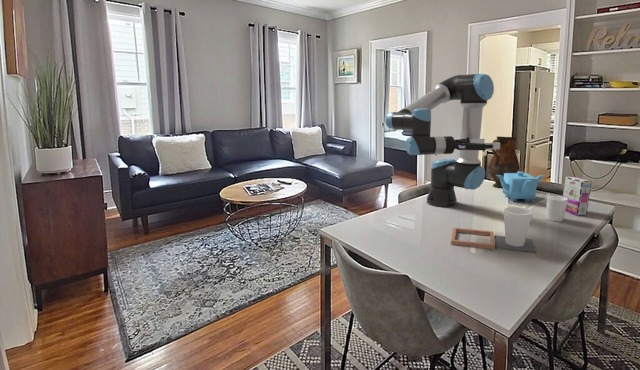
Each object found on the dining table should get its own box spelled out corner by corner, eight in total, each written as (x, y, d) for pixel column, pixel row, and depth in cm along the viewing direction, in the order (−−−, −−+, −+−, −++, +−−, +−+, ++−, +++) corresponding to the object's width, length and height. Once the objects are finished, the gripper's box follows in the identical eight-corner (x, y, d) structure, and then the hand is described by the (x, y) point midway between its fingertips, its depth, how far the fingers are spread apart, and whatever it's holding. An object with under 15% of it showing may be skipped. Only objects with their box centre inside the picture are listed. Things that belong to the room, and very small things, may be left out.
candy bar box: (587, 215, 177) (592, 181, 173) (577, 216, 177) (582, 181, 173) (570, 208, 188) (574, 175, 184) (560, 209, 188) (564, 176, 184)
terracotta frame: (450, 244, 149) (451, 240, 148) (453, 230, 162) (453, 227, 162) (494, 249, 143) (494, 245, 143) (493, 235, 157) (493, 231, 156)
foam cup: (504, 237, 153) (507, 205, 150) (530, 241, 148) (533, 209, 145) (499, 244, 146) (502, 212, 143) (526, 250, 141) (530, 216, 137)
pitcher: (523, 186, 230) (528, 136, 223) (501, 192, 220) (506, 140, 213) (498, 181, 244) (502, 134, 237) (476, 186, 234) (480, 137, 227)
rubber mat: (496, 248, 144) (496, 247, 144) (495, 236, 155) (495, 235, 155) (536, 252, 139) (536, 251, 139) (531, 240, 151) (531, 239, 151)
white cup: (567, 222, 169) (570, 200, 167) (548, 221, 171) (550, 200, 168) (560, 216, 176) (563, 195, 174) (541, 216, 178) (544, 195, 176)
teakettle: (509, 192, 219) (511, 167, 216) (544, 199, 205) (547, 172, 201) (492, 198, 208) (494, 172, 205) (527, 206, 194) (530, 177, 190)
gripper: (432, 149, 177) (477, 148, 178) (453, 158, 153) (505, 157, 154) (433, 133, 176) (478, 132, 177) (455, 140, 151) (507, 138, 152)
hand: (491, 143), depth 165 cm, fingers open, 13 cm apart
